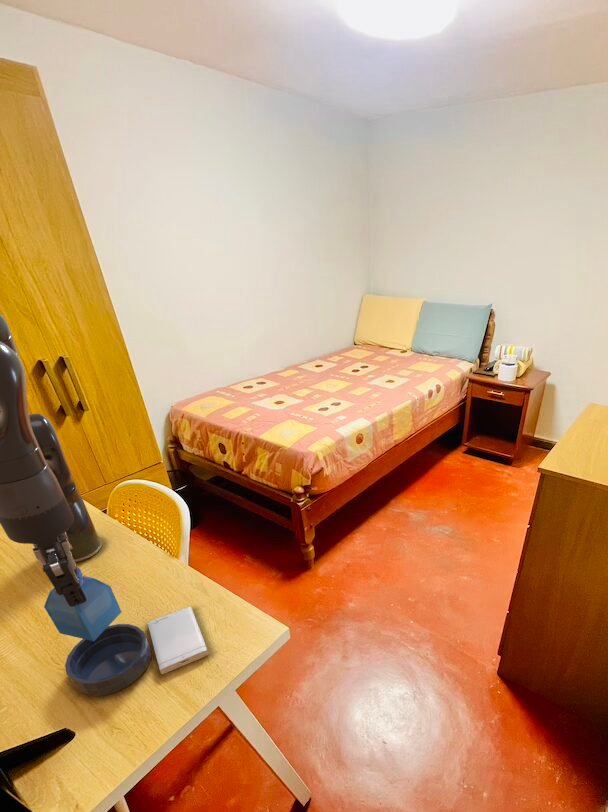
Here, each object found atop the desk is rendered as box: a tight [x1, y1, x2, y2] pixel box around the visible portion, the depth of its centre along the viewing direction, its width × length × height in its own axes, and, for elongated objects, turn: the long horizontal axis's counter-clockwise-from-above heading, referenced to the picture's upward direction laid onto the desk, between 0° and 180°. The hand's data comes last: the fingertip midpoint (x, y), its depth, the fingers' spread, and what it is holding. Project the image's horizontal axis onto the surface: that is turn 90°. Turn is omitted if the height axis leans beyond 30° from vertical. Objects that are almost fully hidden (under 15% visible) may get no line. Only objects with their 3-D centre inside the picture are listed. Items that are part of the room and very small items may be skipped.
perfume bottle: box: [43, 562, 123, 641], centre depth 66 cm, size 6×6×12 cm
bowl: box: [64, 623, 152, 697], centre depth 75 cm, size 12×12×4 cm
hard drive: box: [147, 606, 209, 675], centre depth 80 cm, size 2×8×12 cm
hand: (75, 590), depth 65 cm, fingers closed on perfume bottle, 5 cm apart
